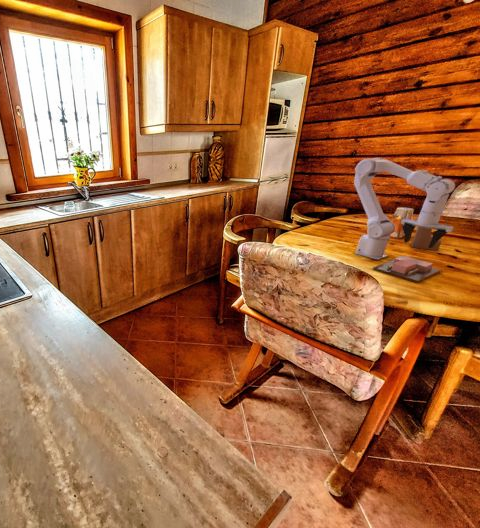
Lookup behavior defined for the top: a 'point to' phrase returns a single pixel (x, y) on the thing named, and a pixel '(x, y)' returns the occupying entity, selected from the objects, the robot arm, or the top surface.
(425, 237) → the wooden block
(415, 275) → the board
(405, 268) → the loose pad
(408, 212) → the beer glass
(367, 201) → the robot arm
